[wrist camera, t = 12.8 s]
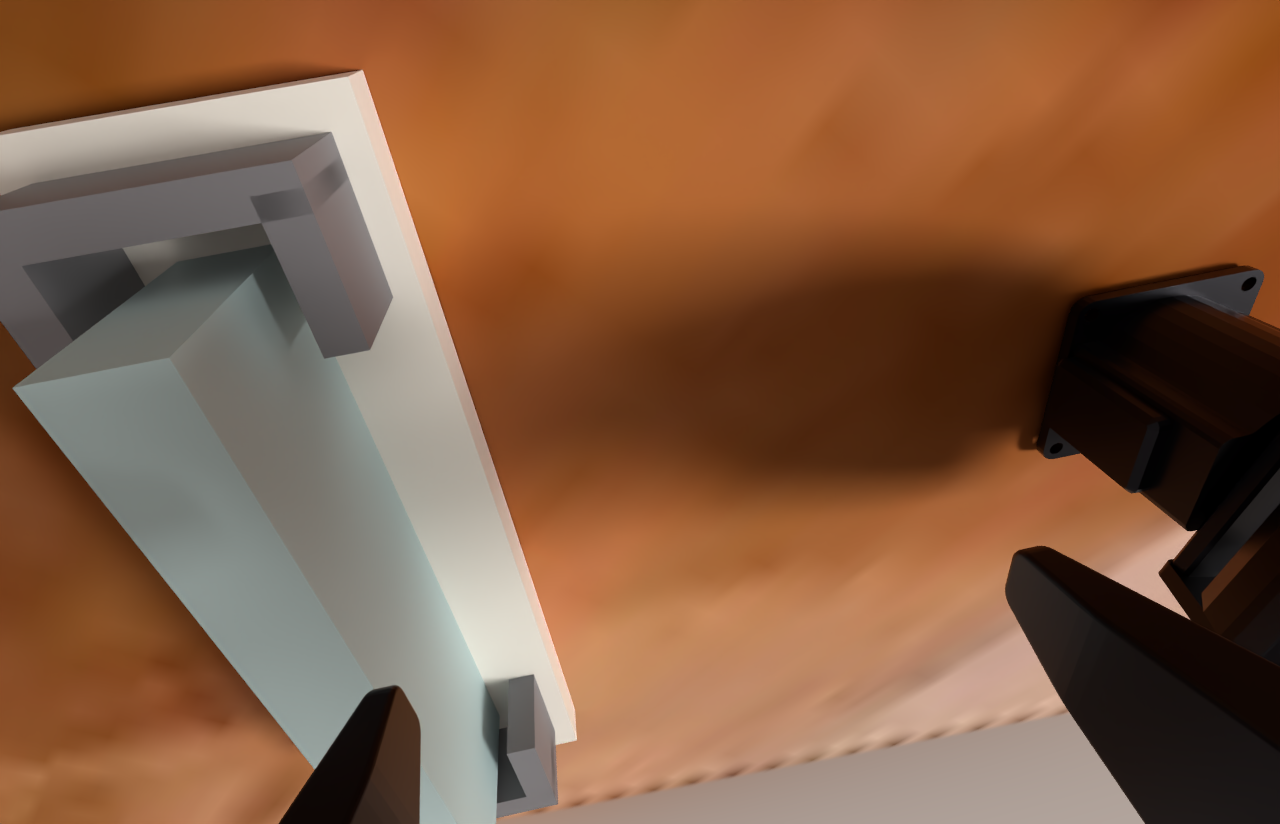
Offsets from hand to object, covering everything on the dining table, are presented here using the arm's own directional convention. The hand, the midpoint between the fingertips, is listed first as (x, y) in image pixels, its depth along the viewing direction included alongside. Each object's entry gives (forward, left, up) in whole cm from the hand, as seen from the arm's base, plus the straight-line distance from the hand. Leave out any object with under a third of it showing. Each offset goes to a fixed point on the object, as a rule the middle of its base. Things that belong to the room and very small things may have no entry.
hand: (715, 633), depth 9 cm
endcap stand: (+9, +6, -12) cm, 16 cm away
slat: (+9, +6, -10) cm, 15 cm away
